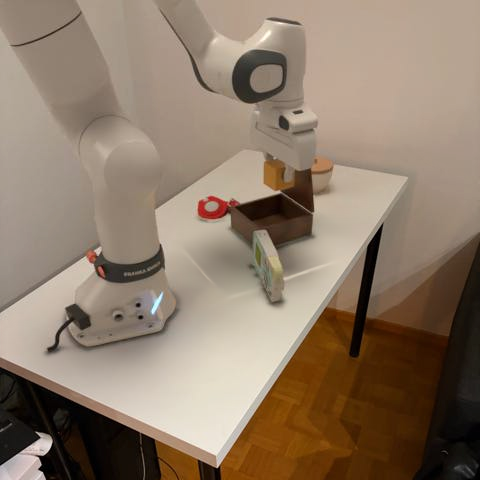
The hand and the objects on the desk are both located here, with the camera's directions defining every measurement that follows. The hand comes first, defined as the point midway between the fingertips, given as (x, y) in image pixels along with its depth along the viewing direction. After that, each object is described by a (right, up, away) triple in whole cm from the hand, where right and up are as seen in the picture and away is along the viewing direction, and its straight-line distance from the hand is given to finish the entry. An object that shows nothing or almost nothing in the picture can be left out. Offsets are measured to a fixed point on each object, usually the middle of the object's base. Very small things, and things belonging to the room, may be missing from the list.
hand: (278, 176), depth 107 cm
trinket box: (+13, +8, +39) cm, 42 cm away
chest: (-1, -9, +19) cm, 21 cm away
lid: (+4, +4, +12) cm, 13 cm away
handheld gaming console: (-3, -24, +1) cm, 24 cm away
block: (0, -2, +1) cm, 2 cm away
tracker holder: (-15, -3, +27) cm, 31 cm away
